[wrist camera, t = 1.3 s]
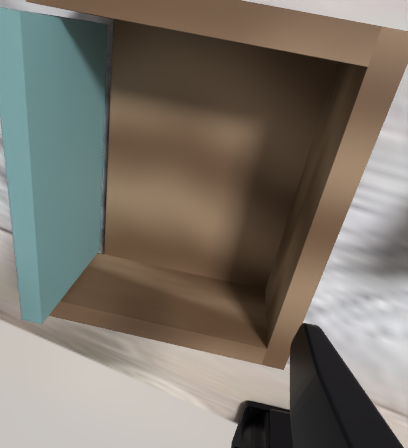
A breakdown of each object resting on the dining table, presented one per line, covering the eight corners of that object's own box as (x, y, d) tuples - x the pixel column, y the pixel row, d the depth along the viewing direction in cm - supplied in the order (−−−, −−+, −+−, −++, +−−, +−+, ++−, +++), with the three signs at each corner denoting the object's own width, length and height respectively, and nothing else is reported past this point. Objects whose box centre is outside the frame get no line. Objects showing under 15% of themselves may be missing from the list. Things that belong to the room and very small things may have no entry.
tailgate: (100, 249, 23) (41, 324, 17) (85, 246, 23) (21, 319, 17) (107, 24, 17) (19, 11, 11) (87, 20, 17) (-12, 5, 11)
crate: (277, 298, 24) (283, 369, 19) (91, 256, 24) (45, 314, 19) (367, 37, 16) (419, 33, 11) (96, -13, 17) (23, -41, 12)
